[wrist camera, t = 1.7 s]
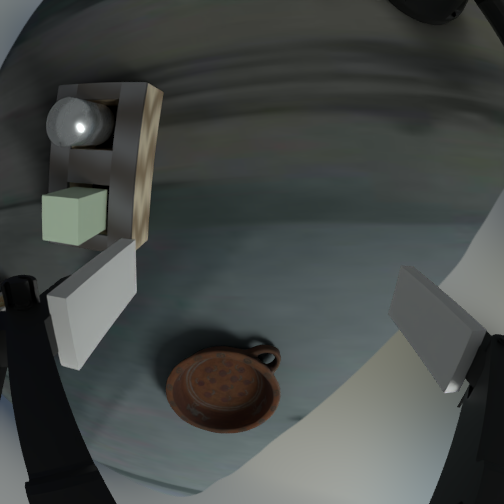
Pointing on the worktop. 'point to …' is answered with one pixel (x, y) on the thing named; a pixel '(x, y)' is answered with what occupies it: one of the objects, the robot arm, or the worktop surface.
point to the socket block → (114, 159)
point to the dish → (225, 388)
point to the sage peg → (73, 214)
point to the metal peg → (79, 122)
